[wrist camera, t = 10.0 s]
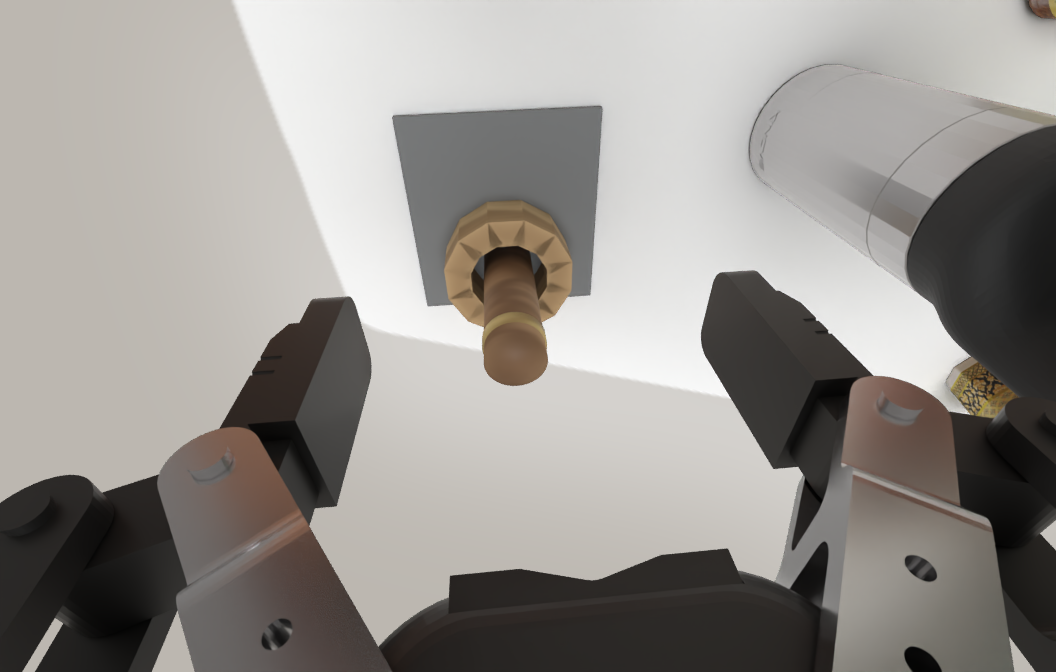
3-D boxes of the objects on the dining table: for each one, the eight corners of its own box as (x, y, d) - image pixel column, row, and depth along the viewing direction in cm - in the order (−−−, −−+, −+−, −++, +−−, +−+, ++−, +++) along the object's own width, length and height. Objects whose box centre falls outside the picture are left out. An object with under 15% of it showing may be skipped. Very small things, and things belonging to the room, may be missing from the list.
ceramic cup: (917, 406, 58) (986, 473, 50) (952, 344, 52) (1036, 409, 44) (1021, 390, 58) (1106, 455, 50) (1068, 327, 52) (1173, 389, 44)
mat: (601, 106, 34) (602, 107, 34) (589, 292, 44) (590, 295, 44) (393, 115, 33) (392, 117, 33) (428, 303, 43) (427, 306, 43)
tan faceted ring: (565, 197, 38) (574, 217, 34) (563, 301, 44) (570, 326, 41) (440, 204, 37) (437, 225, 34) (455, 309, 43) (454, 335, 40)
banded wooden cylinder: (531, 233, 39) (549, 333, 28) (532, 277, 42) (549, 384, 31) (480, 236, 39) (479, 337, 28) (484, 280, 42) (485, 388, 30)
